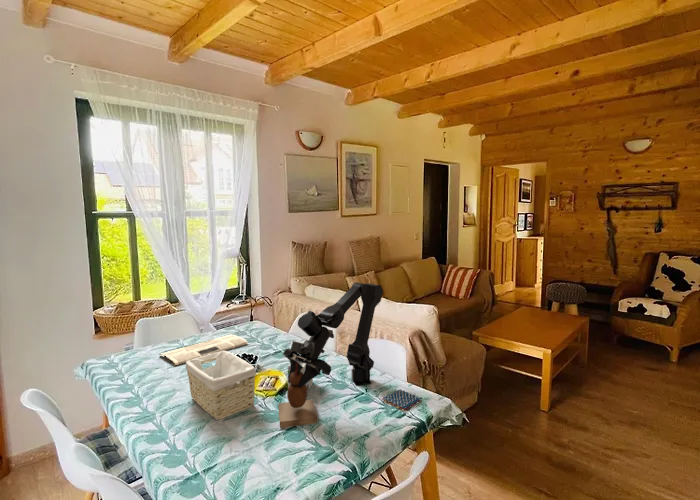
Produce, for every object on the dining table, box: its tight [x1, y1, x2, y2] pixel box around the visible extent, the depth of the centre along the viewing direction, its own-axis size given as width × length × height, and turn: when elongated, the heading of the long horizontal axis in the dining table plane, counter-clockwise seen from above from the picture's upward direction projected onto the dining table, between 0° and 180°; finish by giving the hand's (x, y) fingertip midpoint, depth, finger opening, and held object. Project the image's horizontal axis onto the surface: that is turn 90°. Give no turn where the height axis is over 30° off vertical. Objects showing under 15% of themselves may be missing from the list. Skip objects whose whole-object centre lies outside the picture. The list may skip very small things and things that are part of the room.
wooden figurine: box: [286, 362, 308, 408], centre depth 129 cm, size 7×6×15 cm
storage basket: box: [185, 350, 257, 421], centre depth 139 cm, size 24×16×15 cm
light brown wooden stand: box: [277, 398, 319, 429], centre depth 130 cm, size 12×12×2 cm
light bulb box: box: [287, 362, 314, 392], centre depth 150 cm, size 11×7×11 cm, turn 169°
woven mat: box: [382, 389, 422, 412], centre depth 139 cm, size 10×11×2 cm
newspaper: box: [158, 333, 248, 366], centre depth 192 cm, size 37×19×3 cm, turn 137°
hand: (293, 384), depth 128 cm, fingers closed on wooden figurine, 5 cm apart
